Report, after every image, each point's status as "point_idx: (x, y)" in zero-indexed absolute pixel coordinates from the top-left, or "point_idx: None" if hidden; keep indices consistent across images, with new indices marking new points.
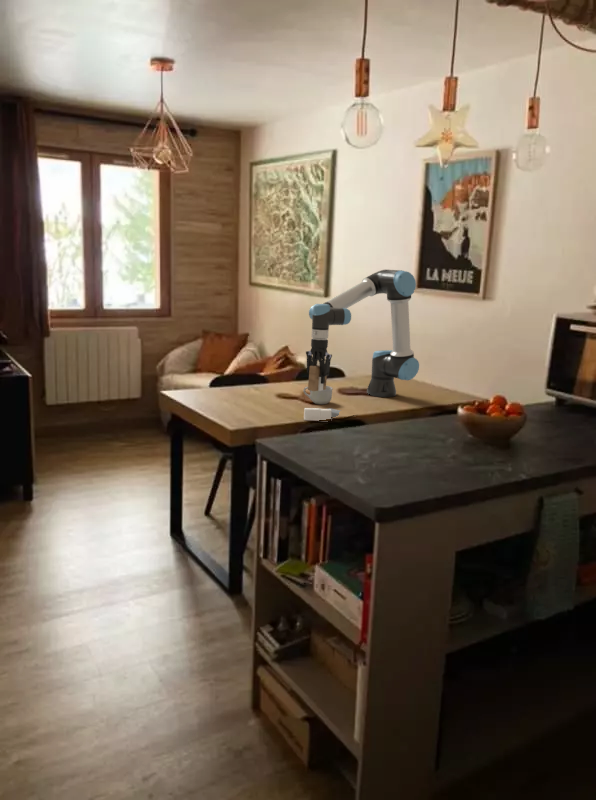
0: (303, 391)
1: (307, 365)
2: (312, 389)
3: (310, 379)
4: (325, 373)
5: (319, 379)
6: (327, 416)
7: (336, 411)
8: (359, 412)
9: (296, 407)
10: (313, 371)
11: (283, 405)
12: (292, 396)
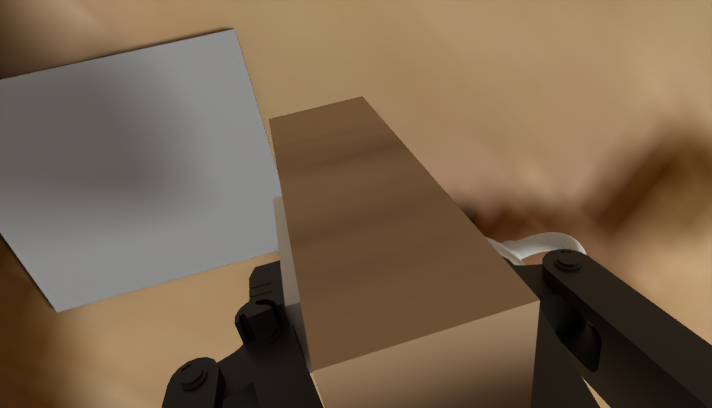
0: (569, 236)
1: (672, 336)
2: (295, 119)
3: (369, 156)
4: (172, 405)
5: (292, 274)
6: None
7: (193, 234)
8: (135, 350)
9: (452, 65)
10: (354, 256)
11: (550, 15)
12: (643, 223)
